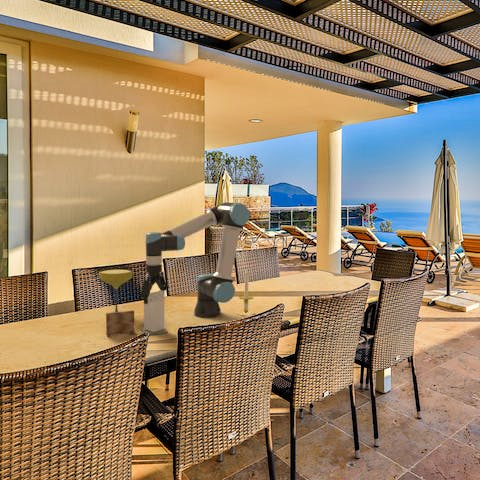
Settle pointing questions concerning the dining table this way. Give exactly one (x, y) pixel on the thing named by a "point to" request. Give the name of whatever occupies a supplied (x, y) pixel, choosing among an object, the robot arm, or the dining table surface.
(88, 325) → the dining table surface
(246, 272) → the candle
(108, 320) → the brown upright block
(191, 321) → the dining table surface
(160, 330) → the coaster
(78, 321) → the dining table surface
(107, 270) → the cocktail glass
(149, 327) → the milk carton
